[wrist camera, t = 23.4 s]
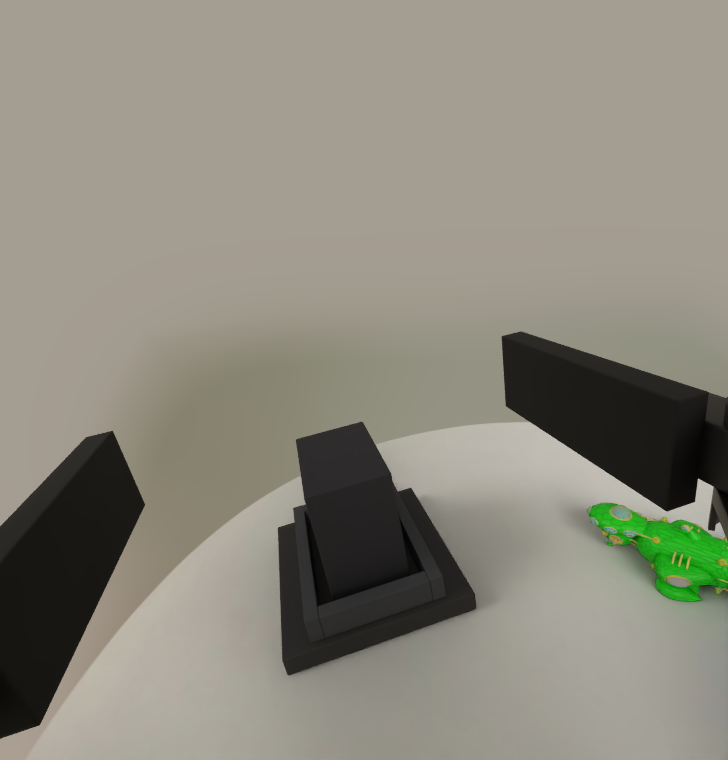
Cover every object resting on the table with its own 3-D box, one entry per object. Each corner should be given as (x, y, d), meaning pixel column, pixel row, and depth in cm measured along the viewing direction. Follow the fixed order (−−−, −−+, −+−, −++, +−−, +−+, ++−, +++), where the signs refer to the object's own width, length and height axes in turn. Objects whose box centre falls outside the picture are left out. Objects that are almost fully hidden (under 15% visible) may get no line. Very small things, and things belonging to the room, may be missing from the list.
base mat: (287, 676, 27) (274, 639, 26) (281, 539, 40) (272, 510, 39) (476, 608, 30) (472, 572, 28) (413, 499, 43) (408, 471, 41)
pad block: (335, 610, 30) (304, 498, 26) (320, 531, 38) (295, 439, 35) (411, 584, 31) (391, 473, 27) (381, 513, 39) (362, 421, 36)
